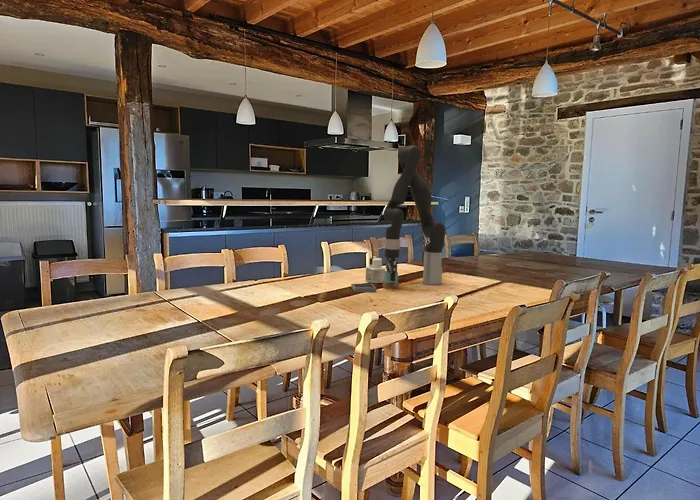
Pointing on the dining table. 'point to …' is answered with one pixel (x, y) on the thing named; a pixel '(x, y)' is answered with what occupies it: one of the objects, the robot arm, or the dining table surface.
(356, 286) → the charcoal tray
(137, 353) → the dining table surface
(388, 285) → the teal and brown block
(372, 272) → the container
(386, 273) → the teal collar
